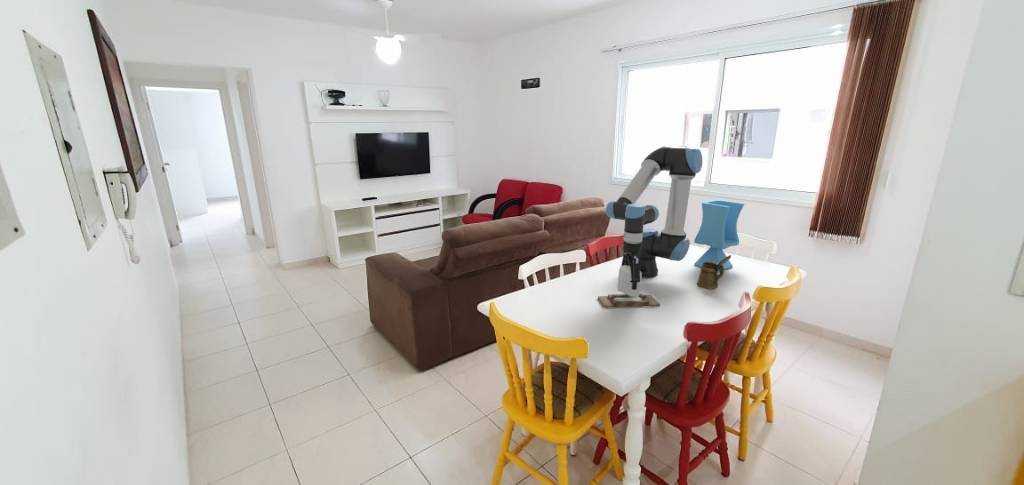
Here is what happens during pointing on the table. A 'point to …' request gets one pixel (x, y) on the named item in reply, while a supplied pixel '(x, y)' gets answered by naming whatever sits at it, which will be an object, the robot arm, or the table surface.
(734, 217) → the planter
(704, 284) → the wooden mug
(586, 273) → the table surface
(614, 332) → the table surface
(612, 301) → the brown flat rectangular piece
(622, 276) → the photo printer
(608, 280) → the table surface
